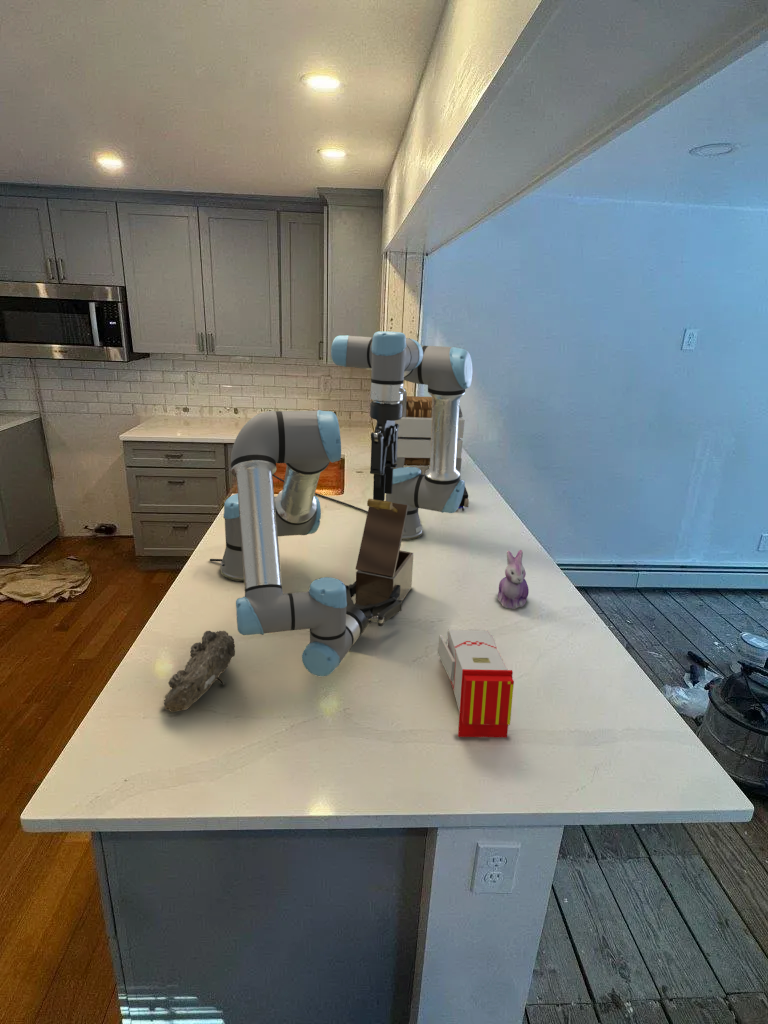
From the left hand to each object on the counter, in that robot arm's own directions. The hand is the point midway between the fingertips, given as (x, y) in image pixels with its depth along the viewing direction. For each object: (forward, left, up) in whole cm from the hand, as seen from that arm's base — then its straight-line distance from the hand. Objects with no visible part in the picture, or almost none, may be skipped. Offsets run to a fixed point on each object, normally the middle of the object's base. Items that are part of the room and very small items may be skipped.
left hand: (379, 585), depth 149 cm
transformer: (-26, +131, -6) cm, 133 cm away
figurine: (+33, +17, -6) cm, 38 cm away
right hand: (0, -1, +25) cm, 25 cm away
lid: (0, +1, +13) cm, 13 cm away
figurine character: (+2, +90, -6) cm, 90 cm away
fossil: (-22, -44, -6) cm, 50 cm away
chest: (0, +5, -6) cm, 8 cm away
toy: (+30, -26, -6) cm, 40 cm away
